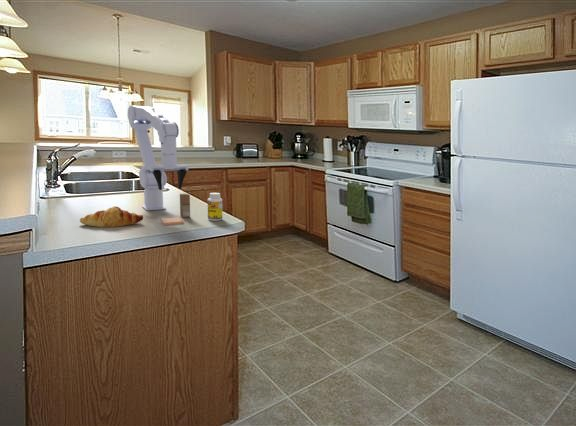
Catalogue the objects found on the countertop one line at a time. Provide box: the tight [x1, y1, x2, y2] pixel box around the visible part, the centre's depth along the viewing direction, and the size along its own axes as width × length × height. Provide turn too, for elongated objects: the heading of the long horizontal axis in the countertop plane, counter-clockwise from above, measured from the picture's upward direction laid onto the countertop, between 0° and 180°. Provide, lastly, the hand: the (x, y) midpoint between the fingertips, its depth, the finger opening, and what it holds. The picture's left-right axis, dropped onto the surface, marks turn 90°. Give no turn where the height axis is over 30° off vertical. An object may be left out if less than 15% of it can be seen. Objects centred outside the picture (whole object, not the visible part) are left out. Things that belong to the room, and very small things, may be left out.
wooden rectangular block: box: [179, 193, 191, 219], centre depth 160 cm, size 3×3×9 cm
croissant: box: [79, 206, 144, 228], centre depth 146 cm, size 21×10×8 cm
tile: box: [160, 216, 185, 226], centre depth 152 cm, size 1×7×7 cm
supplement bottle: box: [207, 192, 223, 222], centre depth 157 cm, size 6×6×10 cm
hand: (170, 189), depth 162 cm, fingers open, 7 cm apart
